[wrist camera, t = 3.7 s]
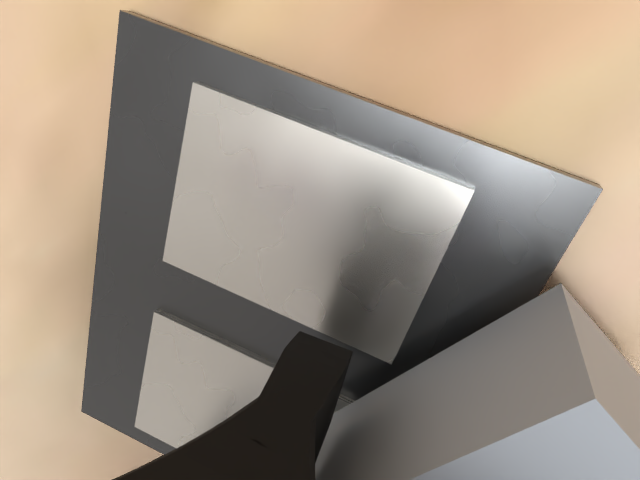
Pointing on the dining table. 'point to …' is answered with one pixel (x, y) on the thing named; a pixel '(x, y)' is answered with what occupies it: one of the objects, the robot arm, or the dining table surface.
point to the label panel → (291, 234)
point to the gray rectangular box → (499, 407)
